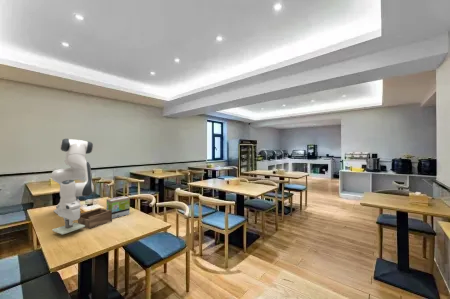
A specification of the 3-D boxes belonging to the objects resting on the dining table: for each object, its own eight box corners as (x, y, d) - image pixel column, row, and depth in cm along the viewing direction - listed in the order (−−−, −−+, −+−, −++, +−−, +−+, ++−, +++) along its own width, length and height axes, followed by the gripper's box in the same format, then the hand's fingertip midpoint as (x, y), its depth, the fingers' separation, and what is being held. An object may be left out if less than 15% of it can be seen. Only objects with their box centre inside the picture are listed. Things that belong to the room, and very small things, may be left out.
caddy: (77, 225, 148) (77, 214, 148) (100, 217, 163) (99, 208, 163) (89, 229, 141) (89, 217, 141) (111, 221, 156) (111, 210, 156)
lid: (52, 230, 133) (52, 221, 133) (74, 223, 145) (74, 215, 145) (62, 234, 127) (62, 225, 127) (84, 226, 139) (84, 218, 139)
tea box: (111, 219, 160) (111, 201, 160) (106, 216, 166) (106, 198, 166) (130, 214, 172) (129, 197, 172) (124, 211, 178) (124, 195, 178)
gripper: (54, 203, 138) (55, 223, 138) (71, 207, 129) (71, 228, 129) (65, 201, 143) (65, 220, 144) (82, 204, 134) (82, 225, 135)
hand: (68, 224), depth 136 cm, fingers closed on lid, 3 cm apart
